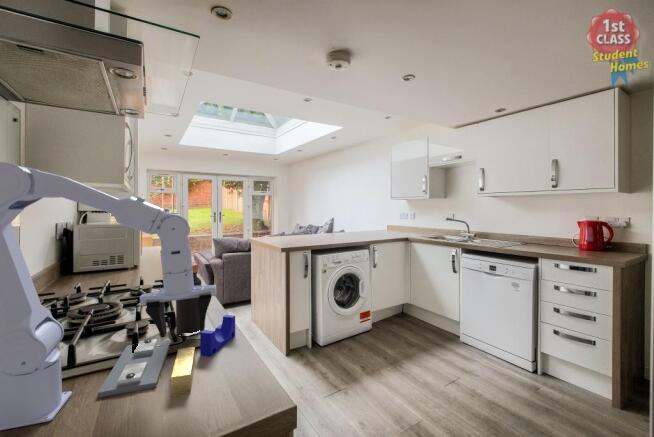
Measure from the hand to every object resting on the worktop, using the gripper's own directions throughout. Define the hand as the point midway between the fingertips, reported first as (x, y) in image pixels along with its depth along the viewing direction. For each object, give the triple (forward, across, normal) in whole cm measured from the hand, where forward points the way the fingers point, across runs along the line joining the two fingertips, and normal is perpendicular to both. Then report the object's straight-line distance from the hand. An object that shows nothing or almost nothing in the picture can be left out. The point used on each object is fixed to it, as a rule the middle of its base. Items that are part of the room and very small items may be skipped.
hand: (183, 332), depth 64 cm
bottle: (+10, +3, -24) cm, 26 cm away
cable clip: (+11, -5, -14) cm, 19 cm away
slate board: (+9, +11, -7) cm, 16 cm away
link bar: (+10, +1, 0) cm, 10 cm away
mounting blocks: (+9, +11, -7) cm, 16 cm away
